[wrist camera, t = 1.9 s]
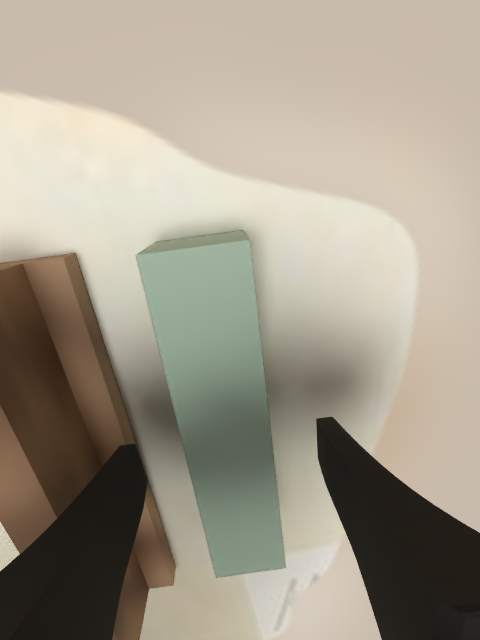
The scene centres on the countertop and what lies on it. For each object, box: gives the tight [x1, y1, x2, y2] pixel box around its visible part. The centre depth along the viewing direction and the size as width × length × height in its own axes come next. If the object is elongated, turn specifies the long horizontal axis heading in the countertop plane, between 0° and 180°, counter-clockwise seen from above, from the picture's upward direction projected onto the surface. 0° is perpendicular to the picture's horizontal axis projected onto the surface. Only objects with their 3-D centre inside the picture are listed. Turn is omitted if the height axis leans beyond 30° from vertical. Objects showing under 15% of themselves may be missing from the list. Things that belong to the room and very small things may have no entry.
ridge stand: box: [0, 253, 176, 640], centre depth 14 cm, size 20×5×4 cm, turn 7°
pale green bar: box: [136, 230, 286, 578], centre depth 14 cm, size 16×4×4 cm, turn 7°
